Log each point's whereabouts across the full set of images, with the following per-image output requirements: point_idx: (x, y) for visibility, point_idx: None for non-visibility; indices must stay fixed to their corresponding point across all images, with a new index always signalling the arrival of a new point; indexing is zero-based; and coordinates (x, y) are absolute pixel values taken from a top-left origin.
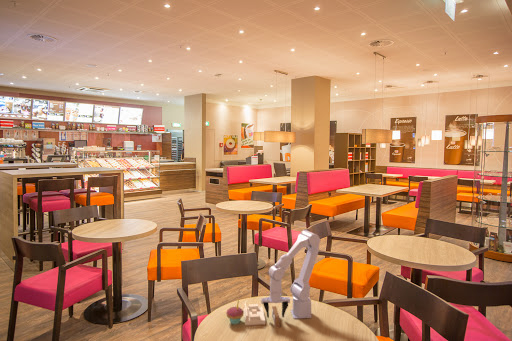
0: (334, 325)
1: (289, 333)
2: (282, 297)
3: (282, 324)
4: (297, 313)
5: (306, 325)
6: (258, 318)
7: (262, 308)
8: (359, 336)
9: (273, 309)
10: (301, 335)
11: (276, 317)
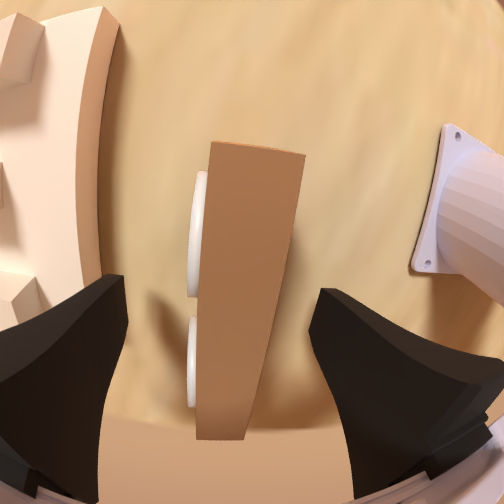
0: (495, 337)
1: (281, 415)
2: (486, 498)
3: (275, 335)
4: (462, 273)
5: None
6: None
7: (89, 38)
8: None
9: (207, 281)
10: (338, 421)
11: (210, 439)
